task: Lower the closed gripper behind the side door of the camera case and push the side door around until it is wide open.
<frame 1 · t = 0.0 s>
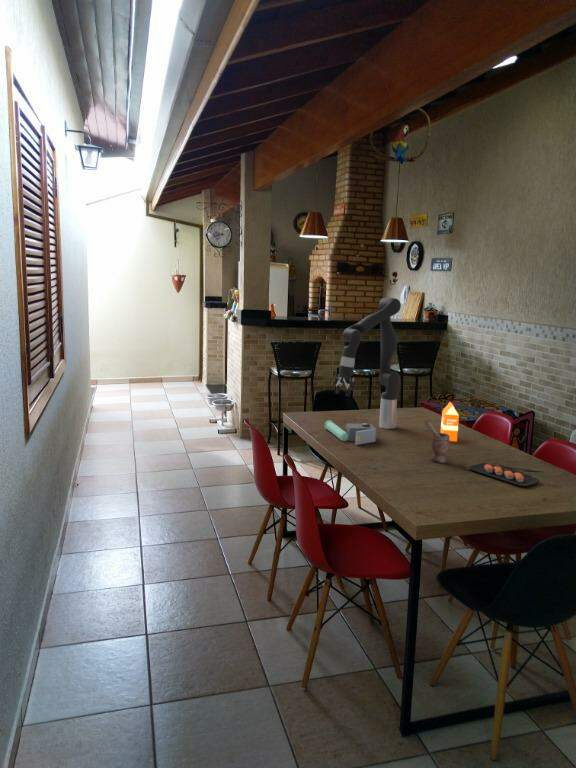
hand: (342, 394, 312), 22 cm above the table, tool pointing down, fingers open, 8 cm apart
camera case: (359, 438, 309), on the table
mint green bar: (336, 435, 315), on the table
mortar and pestle: (435, 461, 275), on the table
orange juice: (448, 439, 316), on the table
sushi plate: (512, 474, 261), on the table
side door: (366, 436, 300), point 4 cm above the table, hinge at 30.0°
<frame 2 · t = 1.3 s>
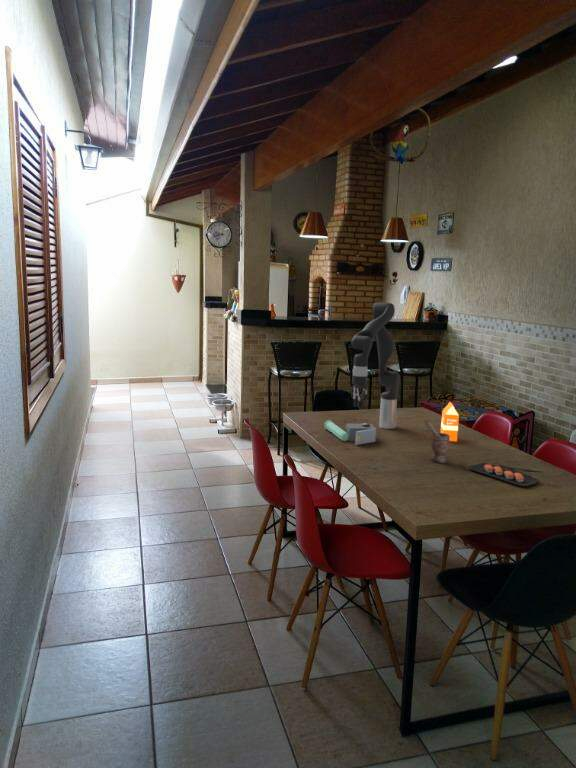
hand: (357, 407, 298), 19 cm above the table, tool pointing down, fingers open, 3 cm apart
nothing on the table moved.
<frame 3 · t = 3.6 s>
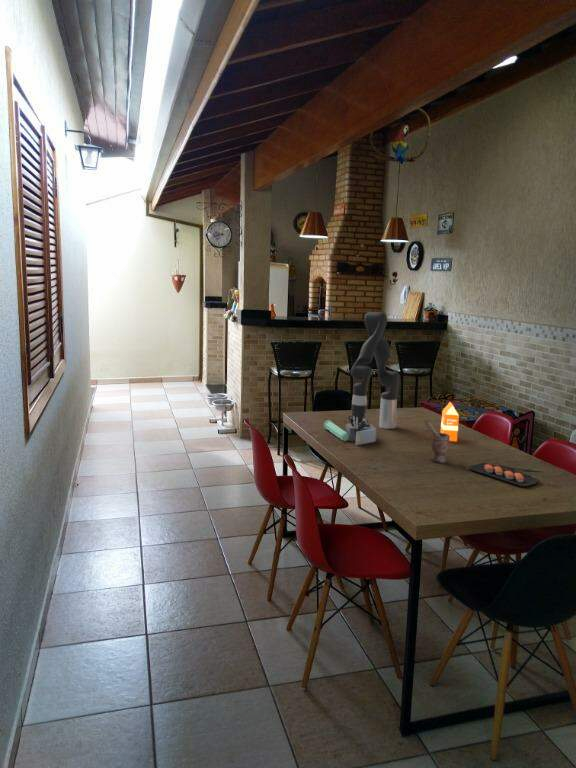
hand: (356, 435, 300), 4 cm above the table, tool pointing down, fingers closed
side door: (366, 436, 299), point 4 cm above the table, hinge at 31.1°, touching gripper
everything else where it was.
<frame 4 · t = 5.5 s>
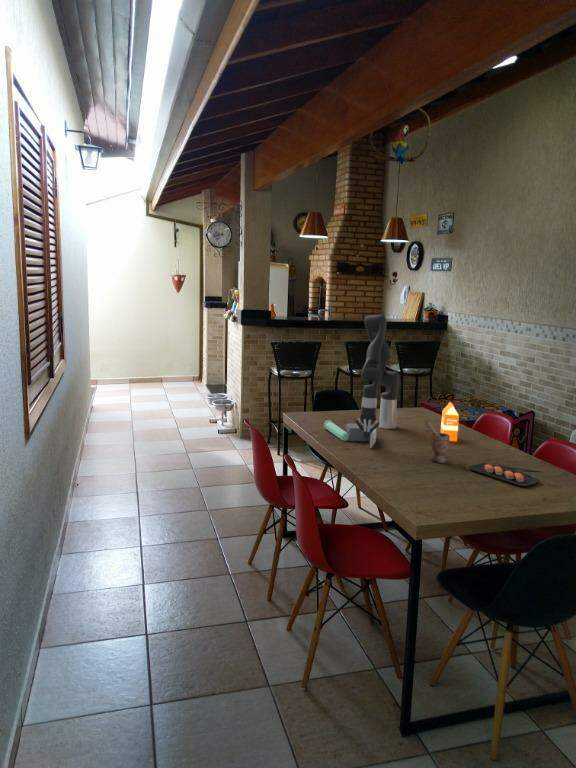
hand: (366, 438, 294), 4 cm above the table, tool pointing down, fingers closed
side door: (373, 437, 297), point 4 cm above the table, hinge at 66.2°, touching gripper
everything else where it was.
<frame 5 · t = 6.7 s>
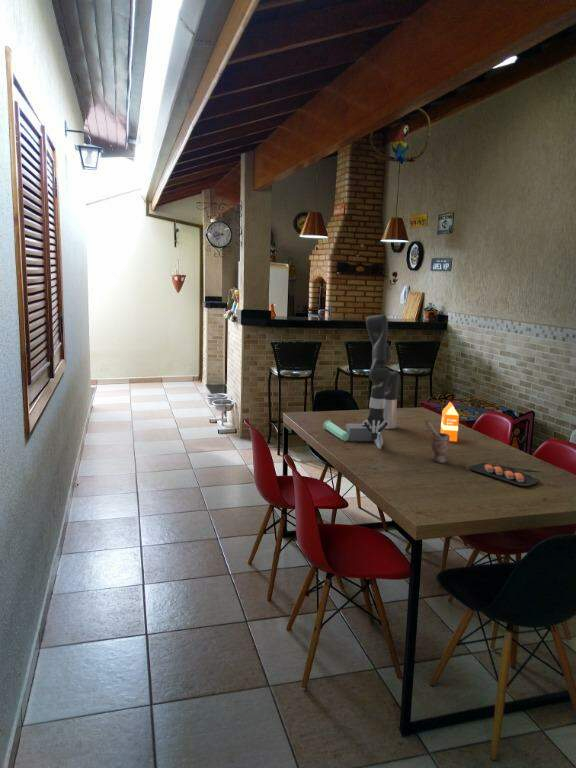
hand: (373, 439, 293), 4 cm above the table, tool pointing down, fingers closed
mint green bar: (336, 436, 314), on the table, touching camera case
side door: (378, 438, 297), point 4 cm above the table, hinge at 86.6°, touching gripper
everything else where it was.
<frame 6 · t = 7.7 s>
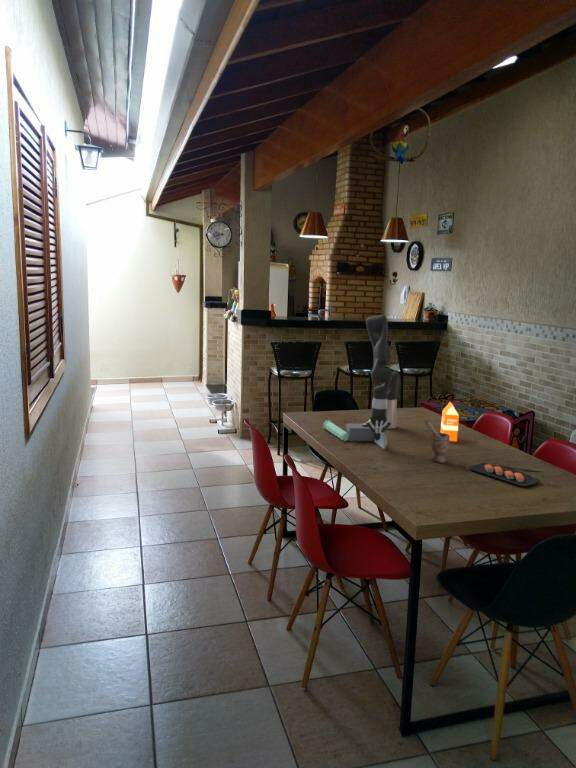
hand: (377, 439, 293), 4 cm above the table, tool pointing down, fingers closed
mint green bar: (336, 436, 314), on the table
side door: (380, 438, 297), point 4 cm above the table, hinge at 96.0°
everything else where it was.
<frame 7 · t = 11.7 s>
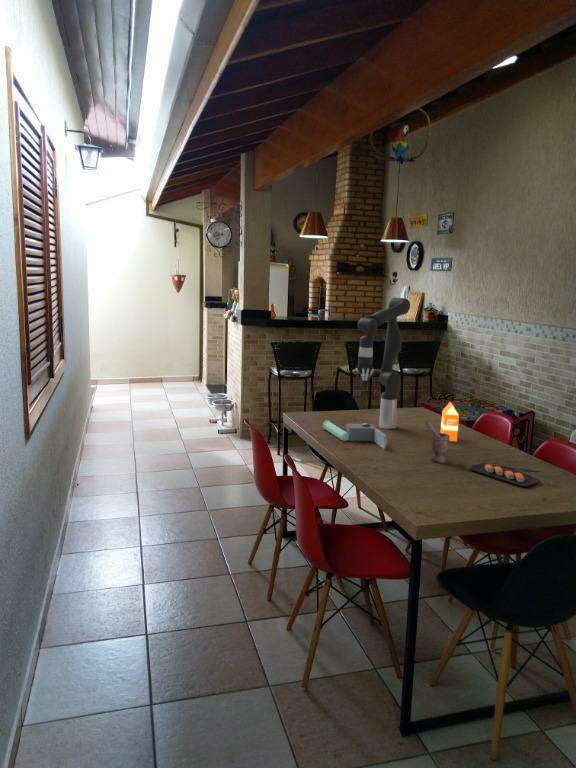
hand: (363, 387, 312), 27 cm above the table, tool pointing down, fingers closed
nothing on the table moved.
at the end: side door at +96° (first picture: +30°); the gripper is holding nothing; mint green bar moved 0.7 cm from its start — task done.
